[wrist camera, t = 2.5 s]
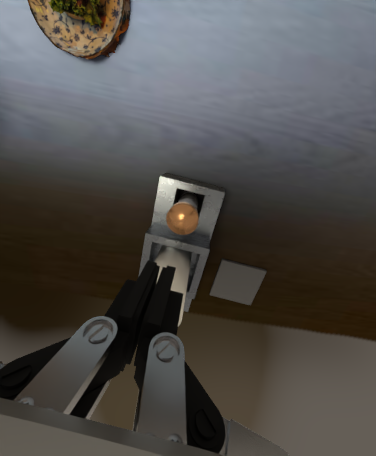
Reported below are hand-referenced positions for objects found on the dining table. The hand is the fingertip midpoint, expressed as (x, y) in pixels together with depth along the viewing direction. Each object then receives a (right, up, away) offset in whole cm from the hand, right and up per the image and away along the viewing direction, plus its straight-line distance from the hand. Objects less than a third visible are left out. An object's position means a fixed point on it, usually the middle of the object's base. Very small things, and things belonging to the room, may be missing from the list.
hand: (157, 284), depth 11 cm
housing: (0, +1, +22) cm, 22 cm away
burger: (-11, +30, +12) cm, 34 cm away
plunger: (+2, +7, +17) cm, 19 cm away
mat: (+11, -7, +24) cm, 27 cm away
